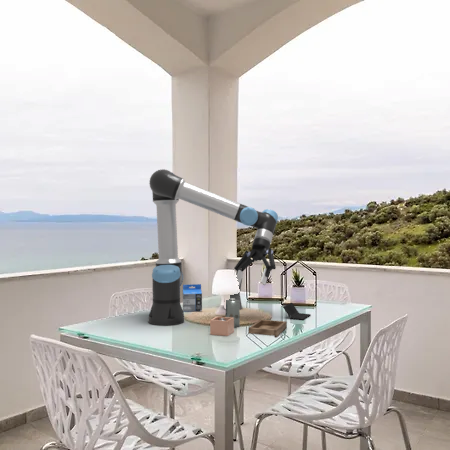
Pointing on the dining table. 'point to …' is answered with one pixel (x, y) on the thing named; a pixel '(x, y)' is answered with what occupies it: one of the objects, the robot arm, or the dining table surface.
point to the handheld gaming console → (295, 313)
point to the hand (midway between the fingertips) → (249, 284)
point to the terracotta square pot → (221, 326)
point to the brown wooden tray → (268, 327)
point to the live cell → (233, 311)
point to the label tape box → (192, 298)
